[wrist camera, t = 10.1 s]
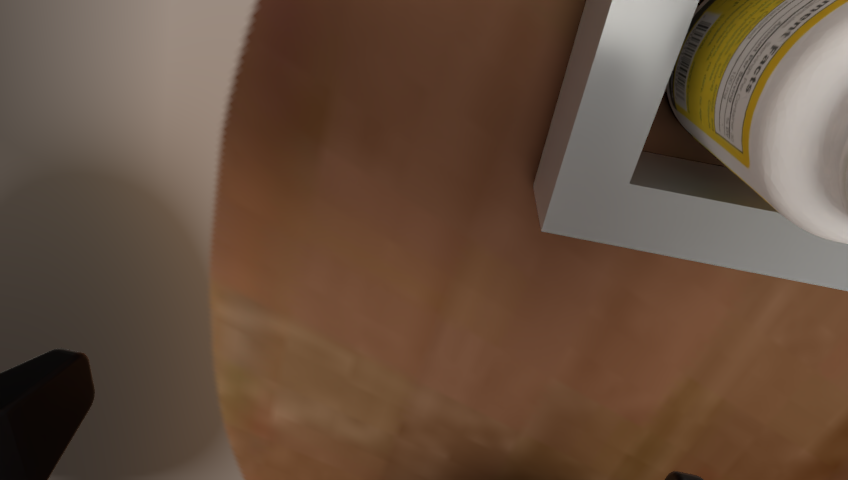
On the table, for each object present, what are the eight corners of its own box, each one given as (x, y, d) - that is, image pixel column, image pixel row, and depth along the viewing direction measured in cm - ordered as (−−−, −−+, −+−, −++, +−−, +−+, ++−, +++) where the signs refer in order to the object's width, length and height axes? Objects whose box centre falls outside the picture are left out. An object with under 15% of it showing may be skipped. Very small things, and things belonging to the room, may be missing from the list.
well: (837, 245, 19) (902, 301, 16) (532, 186, 19) (541, 231, 16) (1066, -122, 14) (1230, -141, 11) (642, -198, 14) (685, -239, 11)
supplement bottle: (877, 84, 17) (1288, 233, 8) (702, 173, 18) (883, 369, 10) (820, -82, 15) (1276, -121, 6) (632, 35, 17) (783, 130, 8)
